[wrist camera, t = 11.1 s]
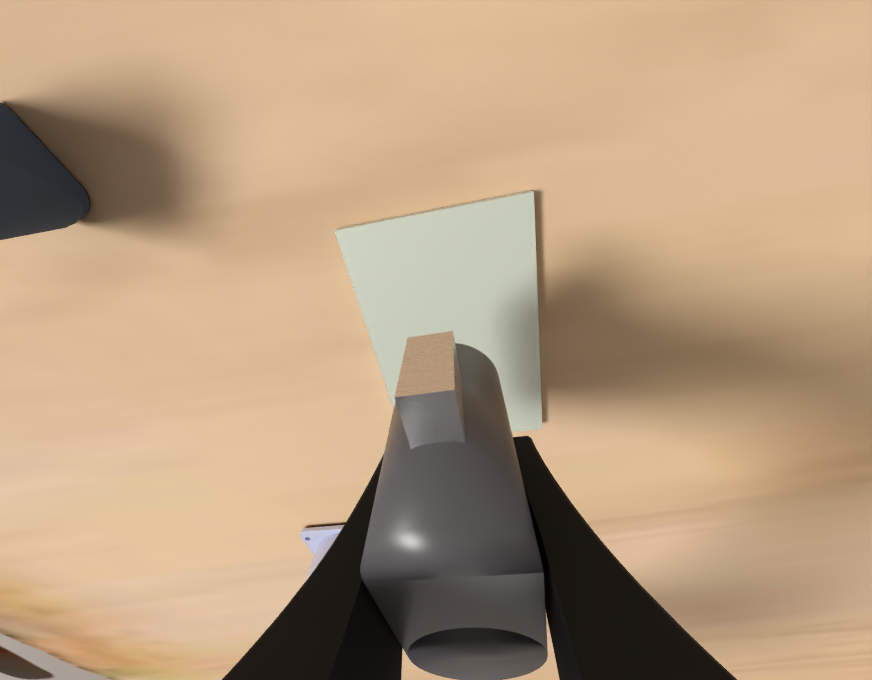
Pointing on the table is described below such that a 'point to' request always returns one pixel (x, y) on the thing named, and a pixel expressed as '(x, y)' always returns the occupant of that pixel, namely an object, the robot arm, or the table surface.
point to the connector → (455, 522)
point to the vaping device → (34, 184)
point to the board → (455, 289)
